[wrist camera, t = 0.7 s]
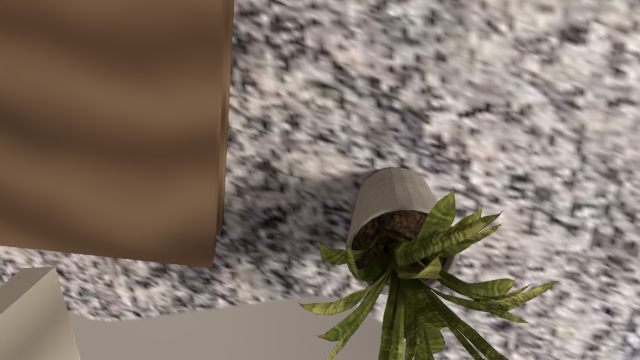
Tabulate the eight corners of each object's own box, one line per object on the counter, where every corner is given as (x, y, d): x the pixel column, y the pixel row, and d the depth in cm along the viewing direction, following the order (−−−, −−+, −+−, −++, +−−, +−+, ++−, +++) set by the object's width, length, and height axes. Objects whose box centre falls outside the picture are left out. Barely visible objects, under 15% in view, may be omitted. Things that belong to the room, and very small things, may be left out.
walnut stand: (-52, -69, 33) (-108, -52, 29) (235, -31, 34) (222, -8, 30) (-1, 198, 42) (-38, 241, 38) (223, 223, 43) (211, 268, 39)
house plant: (524, 254, 44) (613, 454, 30) (351, 304, 47) (360, 508, 33) (475, 89, 38) (562, 250, 24) (277, 160, 40) (249, 341, 27)
